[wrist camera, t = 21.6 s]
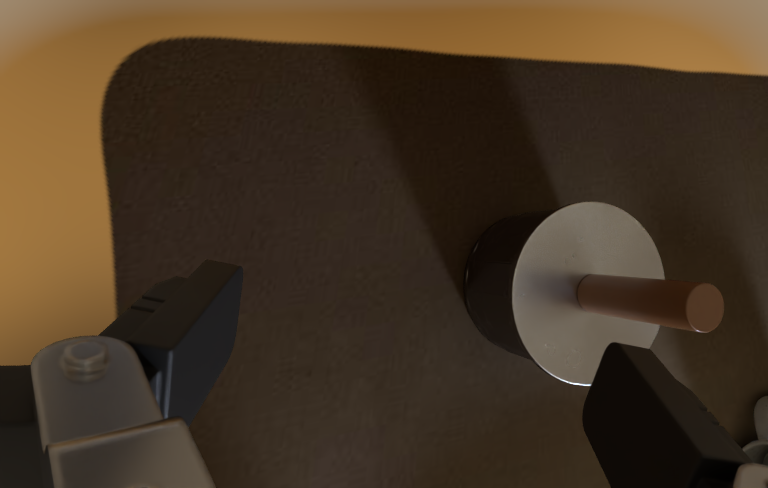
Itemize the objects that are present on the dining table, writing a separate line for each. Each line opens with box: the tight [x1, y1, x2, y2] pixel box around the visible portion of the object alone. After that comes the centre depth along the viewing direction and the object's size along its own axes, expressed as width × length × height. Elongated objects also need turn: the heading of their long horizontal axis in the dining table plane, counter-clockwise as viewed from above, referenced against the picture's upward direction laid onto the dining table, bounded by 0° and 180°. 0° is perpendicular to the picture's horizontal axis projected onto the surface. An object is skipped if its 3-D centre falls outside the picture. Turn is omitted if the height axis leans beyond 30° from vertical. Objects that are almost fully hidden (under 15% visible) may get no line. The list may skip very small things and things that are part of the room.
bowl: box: [464, 210, 554, 360], centre depth 37 cm, size 10×10×7 cm
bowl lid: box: [507, 202, 724, 385], centre depth 30 cm, size 11×11×9 cm
